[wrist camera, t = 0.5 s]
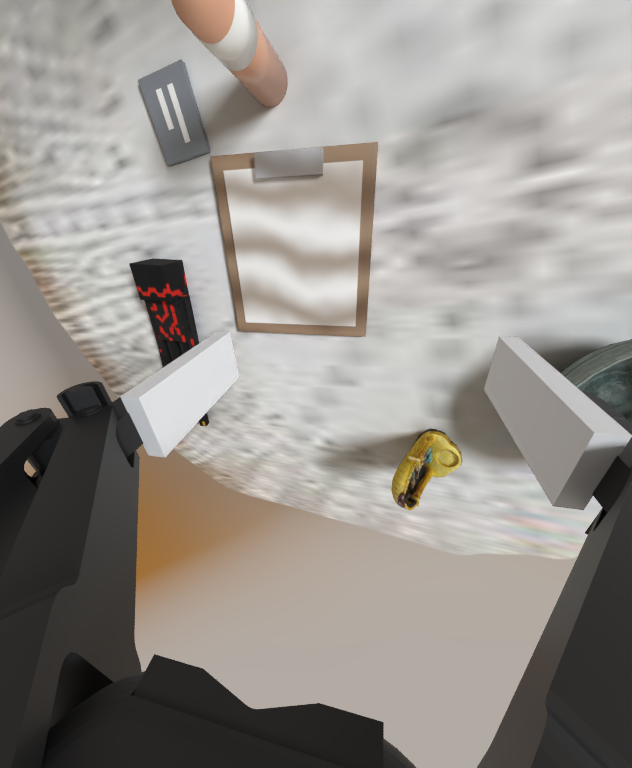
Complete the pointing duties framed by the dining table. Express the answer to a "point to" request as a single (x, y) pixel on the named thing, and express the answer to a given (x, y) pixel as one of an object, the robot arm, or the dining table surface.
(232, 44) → the pastel stick
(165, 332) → the toy
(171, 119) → the grey striped tile
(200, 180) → the dining table surface
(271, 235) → the clipboard
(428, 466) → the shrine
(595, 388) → the bowl
